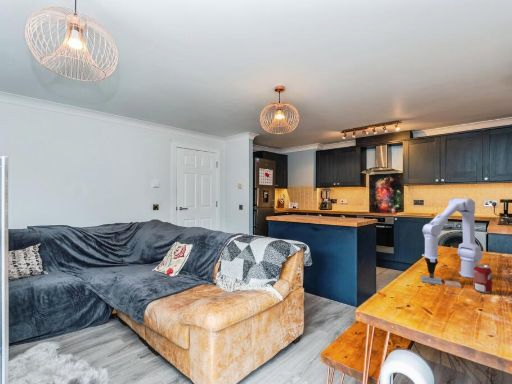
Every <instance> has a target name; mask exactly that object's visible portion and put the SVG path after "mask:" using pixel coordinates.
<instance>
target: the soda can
mask: <svg viewBox="0 0 512 384" xmlns="http://www.w3.org/2000/svg"><path fill="white" fill-rule="evenodd" d="M472 279H473V287H472V288H473V290H475V291H476V292H477V293H481V294H489V293H492V292H493V271H492V269H491V266H489V265H486V264H478V265H475V267H474V276H473V278H472Z"/></svg>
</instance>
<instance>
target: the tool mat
mask: <svg viewBox="0 0 512 384" xmlns="http://www.w3.org/2000/svg"><path fill="white" fill-rule="evenodd" d="M419 278H420V280H421V283H422V284H423V283H424V284H429V285H430V284H431V285H438V286H443V282H442V281H441V282H438V281H430V280H423V275H422V276H421V275H420V277H419Z"/></svg>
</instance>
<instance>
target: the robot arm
mask: <svg viewBox="0 0 512 384" xmlns="http://www.w3.org/2000/svg"><path fill="white" fill-rule="evenodd" d="M447 204H448V205H447V207H446V208H445V209H444V210H443V212H441V214H437V215H435V217H434V218H433V219H432V220H430V222H429V223H426V224H424V225H423V227H422V229H421V230H422V234H423V237H424V253H423V254H421V256H422V257H424V258H423V259H424V260H425V263H426V268H427V271H428V273H430V274H434V275H435V272H436V267H437V265H438V263H439V261H438V259H439V255H438V254H439V251H438V249H439V247H438V246H439V243H438V242H439V241H438V240H439V236H440V235H441V232H442V231H443V227H445V226H446V224H447V223H448V222H449V221H448V219H449V218H450V217H451V216H453V215H454V214H455V213H456V212H458V213H460V215H461V217H462V221H461V222H462V243H459V244H458V249H457V255H458V257H459V259H460V260H461V262H460V271H458V273H459V274H460V276H461V277H462V278H463V277H464V278H471V279H473V276H474V267H475V265H479V262H480V261H481V260H482V258H483V252H482V248H481V246H480V245H478V244H477V243H476V233H475V232H476V229H475V225H476V224H475V213H476V202H475V200H473V199H472V198H457V197H456V198H455V197H452V198H451V199H449V201H448V203H447Z"/></svg>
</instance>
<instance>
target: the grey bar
mask: <svg viewBox="0 0 512 384" xmlns="http://www.w3.org/2000/svg"><path fill="white" fill-rule="evenodd" d="M428 273H429V272H428ZM422 277H423V280H430V281H438V282H442V278H441V277H435V273H434V274H430V273H429V276H428V275H422Z"/></svg>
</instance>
